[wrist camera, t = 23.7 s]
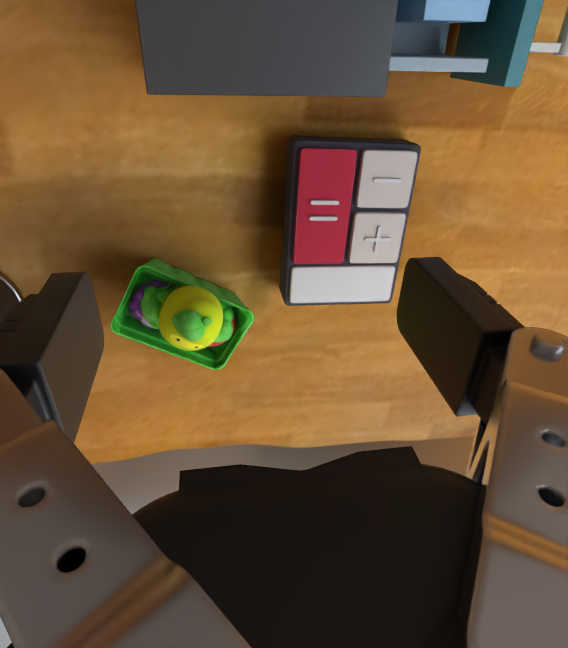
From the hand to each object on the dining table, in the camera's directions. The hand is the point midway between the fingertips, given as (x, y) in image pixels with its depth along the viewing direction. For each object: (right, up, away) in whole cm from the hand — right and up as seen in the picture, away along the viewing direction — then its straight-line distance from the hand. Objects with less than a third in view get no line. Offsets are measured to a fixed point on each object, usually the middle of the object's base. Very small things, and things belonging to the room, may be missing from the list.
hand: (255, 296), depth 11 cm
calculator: (+6, +9, +32) cm, 33 cm away
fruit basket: (-9, +3, +33) cm, 34 cm away
